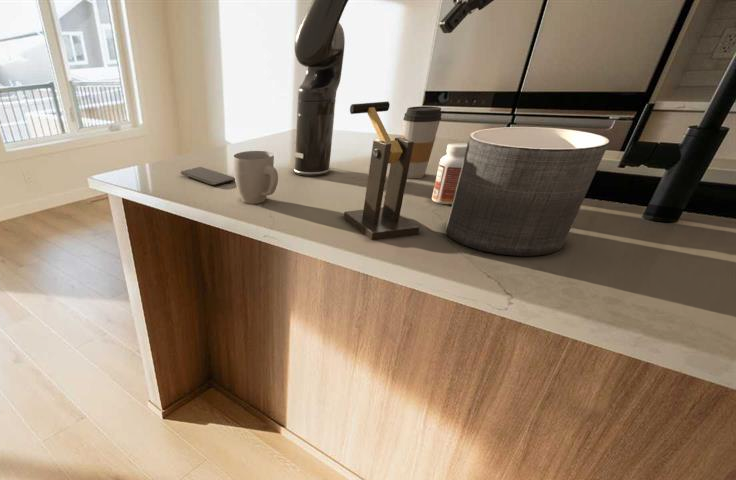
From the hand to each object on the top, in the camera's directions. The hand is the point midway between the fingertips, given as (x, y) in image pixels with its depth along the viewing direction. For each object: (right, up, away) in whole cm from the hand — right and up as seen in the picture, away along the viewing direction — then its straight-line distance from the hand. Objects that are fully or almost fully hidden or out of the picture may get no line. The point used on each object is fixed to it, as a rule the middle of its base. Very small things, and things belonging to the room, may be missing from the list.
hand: (444, 29), depth 72 cm
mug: (-30, -22, +23) cm, 44 cm away
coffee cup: (+10, -12, +35) cm, 38 cm away
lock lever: (-10, -17, +4) cm, 20 cm away
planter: (+10, -35, +1) cm, 37 cm away
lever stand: (-8, -32, +8) cm, 34 cm away
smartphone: (-42, -10, +42) cm, 60 cm away
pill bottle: (+10, -24, +18) cm, 31 cm away
